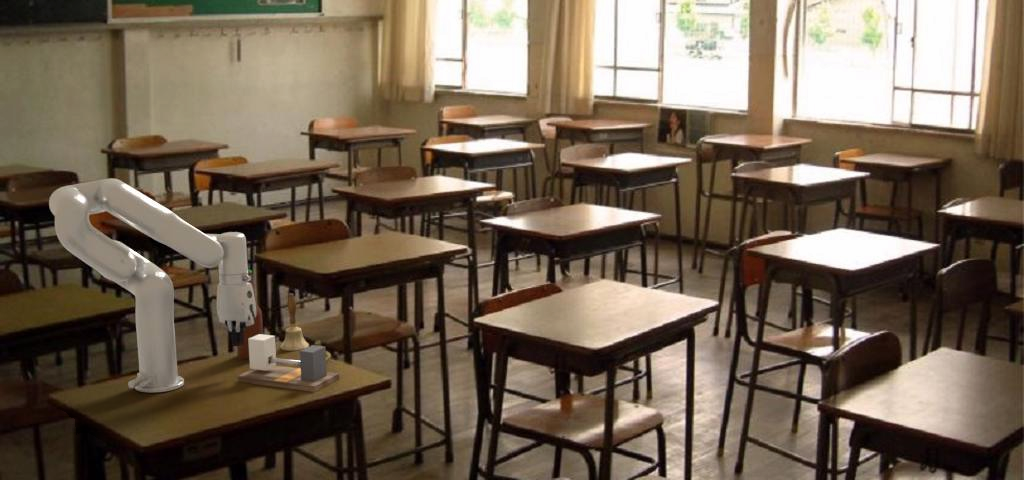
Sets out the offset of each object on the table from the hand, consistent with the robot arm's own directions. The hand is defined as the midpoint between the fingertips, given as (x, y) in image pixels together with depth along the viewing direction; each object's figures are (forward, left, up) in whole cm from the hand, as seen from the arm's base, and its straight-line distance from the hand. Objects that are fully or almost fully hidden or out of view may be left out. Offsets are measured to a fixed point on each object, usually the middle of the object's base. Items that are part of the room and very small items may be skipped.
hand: (237, 344), depth 337 cm
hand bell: (+28, +1, -8) cm, 29 cm away
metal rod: (0, -14, -4) cm, 14 cm away
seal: (+19, -11, -9) cm, 24 cm away
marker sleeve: (0, -8, -5) cm, 10 cm away
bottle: (+15, +7, -8) cm, 18 cm away
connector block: (0, -24, -7) cm, 25 cm away
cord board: (0, -16, -8) cm, 18 cm away
